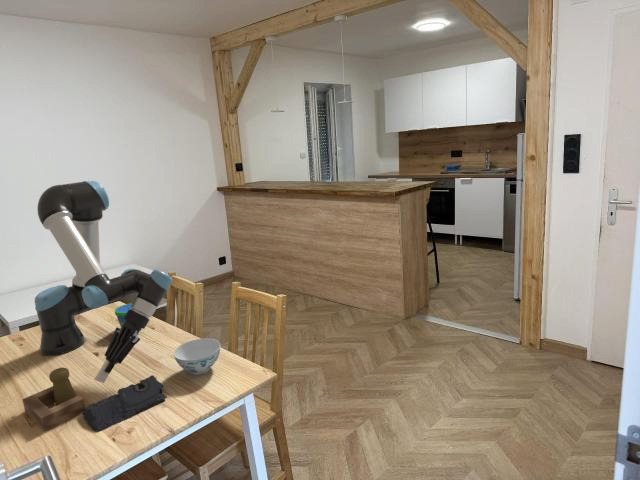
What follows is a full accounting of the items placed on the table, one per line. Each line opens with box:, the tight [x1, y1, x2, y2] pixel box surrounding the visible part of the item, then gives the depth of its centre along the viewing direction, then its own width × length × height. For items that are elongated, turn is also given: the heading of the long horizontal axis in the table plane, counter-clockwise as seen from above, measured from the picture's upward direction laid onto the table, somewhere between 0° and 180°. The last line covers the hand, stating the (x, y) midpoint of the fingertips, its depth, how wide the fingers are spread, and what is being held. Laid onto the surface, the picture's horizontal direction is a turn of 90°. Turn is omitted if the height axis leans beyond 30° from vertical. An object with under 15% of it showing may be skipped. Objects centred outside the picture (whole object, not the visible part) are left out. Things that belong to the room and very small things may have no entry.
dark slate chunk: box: [81, 375, 168, 433], centre depth 130 cm, size 15×22×5 cm
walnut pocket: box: [21, 385, 86, 432], centre depth 130 cm, size 11×16×4 cm
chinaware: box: [173, 337, 221, 376], centre depth 147 cm, size 15×15×8 cm
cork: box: [49, 367, 77, 407], centre depth 133 cm, size 6×6×11 cm
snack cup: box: [114, 302, 143, 331], centre depth 183 cm, size 16×10×10 cm
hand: (99, 381), depth 140 cm, fingers closed
